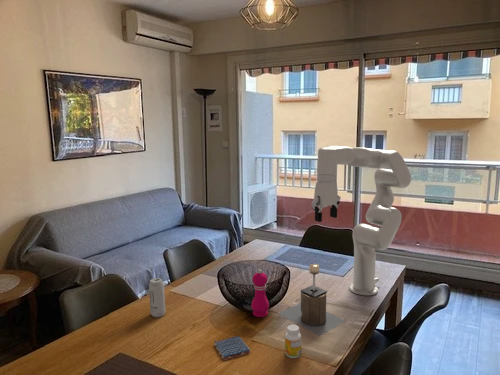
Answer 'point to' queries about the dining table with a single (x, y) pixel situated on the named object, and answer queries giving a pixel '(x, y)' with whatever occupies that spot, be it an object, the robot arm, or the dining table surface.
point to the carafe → (313, 306)
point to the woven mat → (232, 347)
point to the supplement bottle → (293, 341)
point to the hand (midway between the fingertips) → (326, 219)
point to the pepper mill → (260, 295)
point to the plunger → (314, 272)
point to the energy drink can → (157, 297)
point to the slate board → (295, 316)
